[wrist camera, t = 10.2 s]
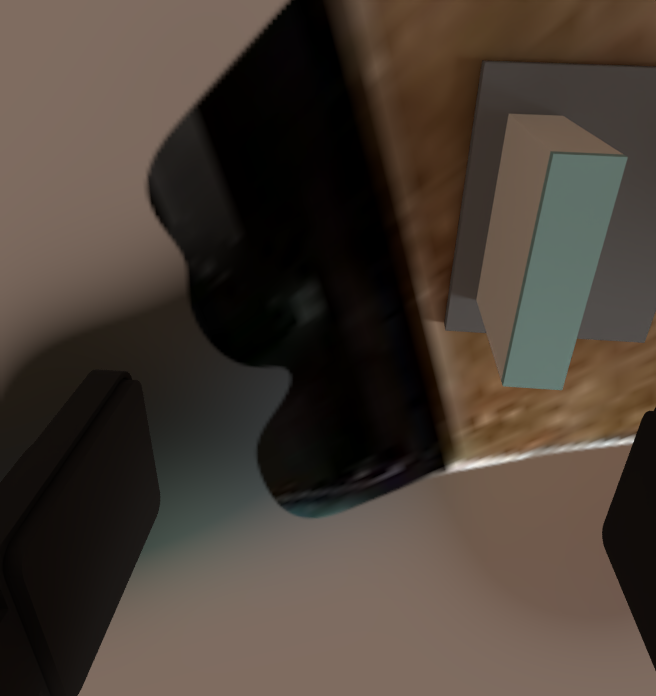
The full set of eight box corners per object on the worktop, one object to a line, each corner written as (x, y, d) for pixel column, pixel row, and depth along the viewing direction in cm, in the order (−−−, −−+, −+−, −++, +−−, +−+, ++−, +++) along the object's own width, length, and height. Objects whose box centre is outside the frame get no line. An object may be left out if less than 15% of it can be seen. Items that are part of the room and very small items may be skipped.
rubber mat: (730, 69, 19) (739, 71, 19) (638, 335, 24) (644, 342, 24) (482, 60, 20) (485, 61, 19) (444, 323, 25) (445, 330, 24)
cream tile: (522, 302, 23) (561, 390, 18) (476, 299, 23) (503, 386, 18) (562, 115, 20) (627, 157, 14) (508, 113, 20) (553, 153, 15)
